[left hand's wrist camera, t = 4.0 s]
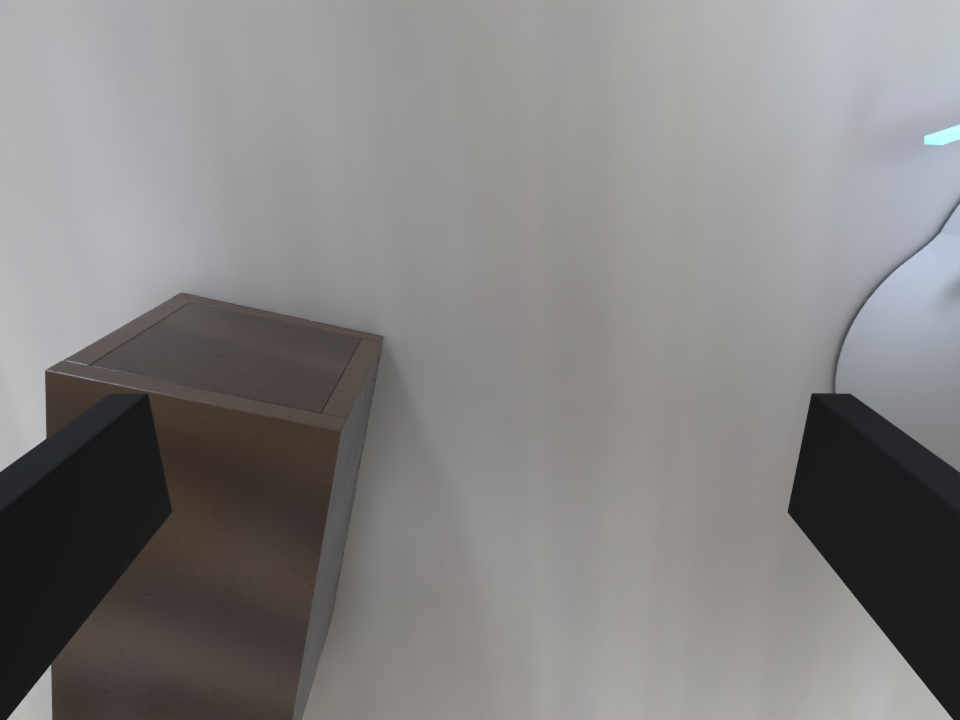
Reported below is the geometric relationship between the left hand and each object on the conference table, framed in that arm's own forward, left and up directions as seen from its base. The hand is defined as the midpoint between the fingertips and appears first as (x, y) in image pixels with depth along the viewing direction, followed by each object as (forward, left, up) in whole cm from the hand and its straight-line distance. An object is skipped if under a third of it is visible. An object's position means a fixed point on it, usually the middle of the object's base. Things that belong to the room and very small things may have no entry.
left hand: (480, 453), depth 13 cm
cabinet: (-1, -17, -19) cm, 26 cm away
